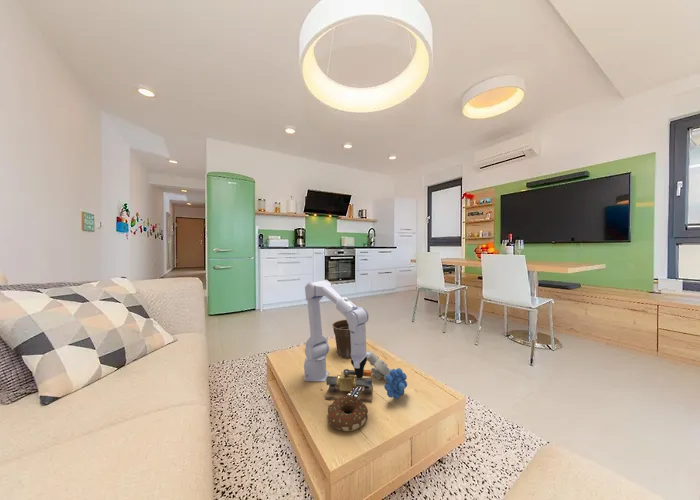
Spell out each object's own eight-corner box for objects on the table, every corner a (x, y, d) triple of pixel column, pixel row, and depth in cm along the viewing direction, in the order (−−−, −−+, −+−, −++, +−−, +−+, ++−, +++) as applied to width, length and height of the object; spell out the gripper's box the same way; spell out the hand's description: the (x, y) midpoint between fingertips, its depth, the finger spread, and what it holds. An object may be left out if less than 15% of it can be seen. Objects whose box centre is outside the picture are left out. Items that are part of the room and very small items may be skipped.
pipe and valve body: (326, 393, 99) (325, 377, 99) (329, 386, 104) (328, 371, 104) (371, 395, 97) (371, 379, 96) (372, 388, 101) (372, 373, 101)
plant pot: (331, 348, 142) (330, 320, 142) (359, 345, 145) (358, 317, 145) (335, 362, 126) (334, 330, 126) (366, 358, 129) (365, 327, 129)
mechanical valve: (397, 375, 108) (374, 352, 105) (369, 409, 104) (344, 386, 101) (387, 365, 117) (366, 344, 115) (361, 396, 113) (338, 375, 111)
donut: (355, 401, 96) (354, 389, 96) (375, 424, 84) (374, 410, 83) (320, 415, 89) (319, 401, 89) (336, 442, 77) (335, 426, 77)
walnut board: (325, 399, 97) (325, 396, 97) (330, 386, 106) (330, 383, 106) (371, 402, 95) (371, 399, 95) (372, 388, 104) (372, 385, 103)
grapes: (394, 411, 89) (393, 378, 89) (381, 401, 95) (379, 370, 94) (415, 397, 96) (414, 367, 96) (402, 389, 102) (401, 360, 101)
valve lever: (343, 376, 99) (342, 371, 99) (344, 373, 102) (343, 368, 101) (371, 377, 98) (371, 372, 98) (371, 374, 100) (371, 369, 100)
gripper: (367, 350, 85) (369, 389, 86) (370, 334, 99) (371, 367, 100) (347, 350, 86) (348, 388, 87) (352, 333, 100) (354, 366, 101)
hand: (359, 377), depth 93 cm, fingers closed
